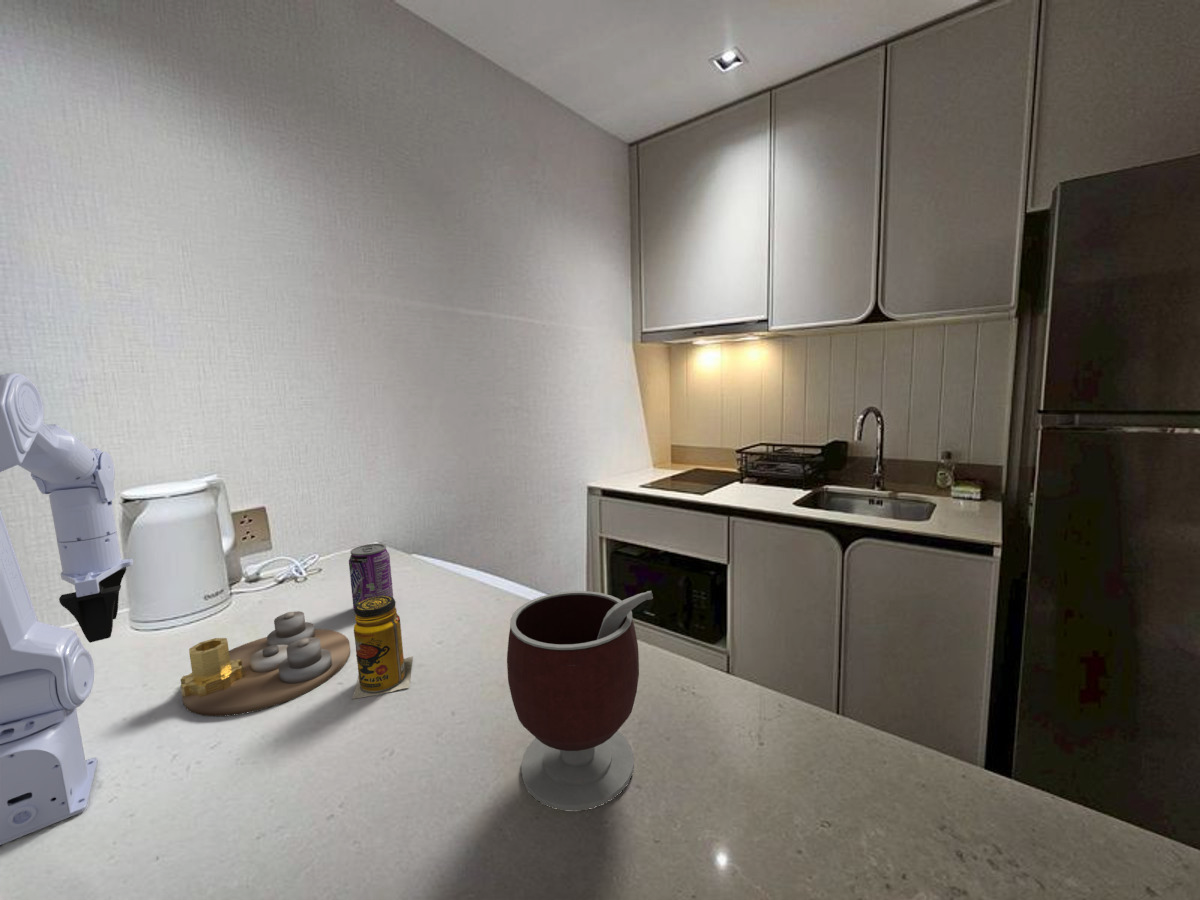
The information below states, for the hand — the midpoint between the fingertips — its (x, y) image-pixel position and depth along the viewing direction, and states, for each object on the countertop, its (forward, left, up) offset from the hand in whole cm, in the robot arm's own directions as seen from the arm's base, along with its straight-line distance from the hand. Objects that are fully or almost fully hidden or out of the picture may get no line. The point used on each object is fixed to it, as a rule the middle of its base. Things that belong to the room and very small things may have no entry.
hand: (103, 629), depth 69 cm
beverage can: (+2, -36, -10) cm, 37 cm away
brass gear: (-10, -11, -8) cm, 17 cm away
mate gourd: (-57, -41, -10) cm, 71 cm away
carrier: (-10, -18, -9) cm, 23 cm away
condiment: (-24, -30, -10) cm, 40 cm away
